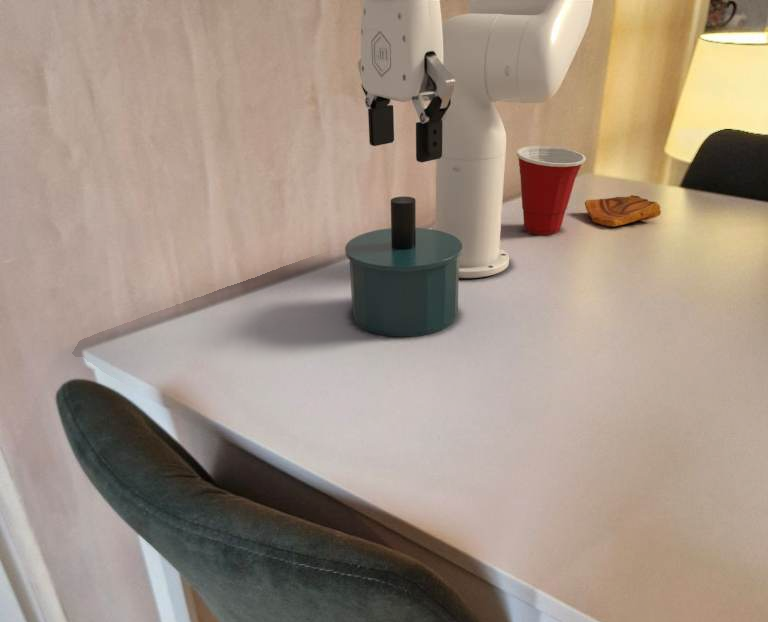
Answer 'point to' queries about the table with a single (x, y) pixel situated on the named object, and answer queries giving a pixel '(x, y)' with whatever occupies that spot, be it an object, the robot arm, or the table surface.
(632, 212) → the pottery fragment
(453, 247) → the lid
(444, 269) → the pot
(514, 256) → the table surface
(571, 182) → the plastic cup
